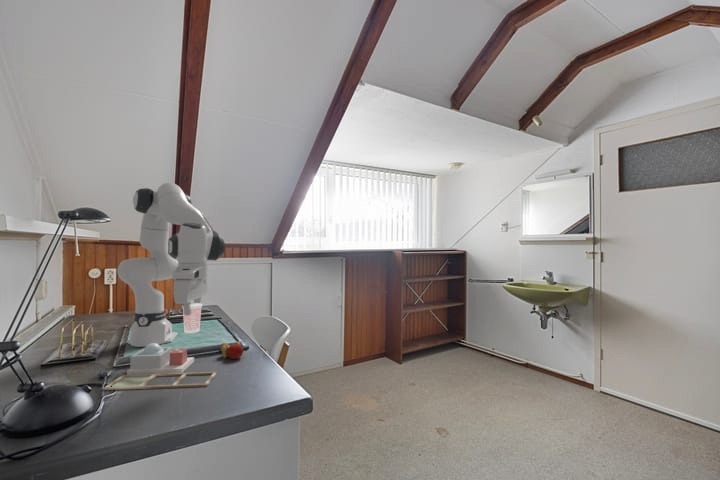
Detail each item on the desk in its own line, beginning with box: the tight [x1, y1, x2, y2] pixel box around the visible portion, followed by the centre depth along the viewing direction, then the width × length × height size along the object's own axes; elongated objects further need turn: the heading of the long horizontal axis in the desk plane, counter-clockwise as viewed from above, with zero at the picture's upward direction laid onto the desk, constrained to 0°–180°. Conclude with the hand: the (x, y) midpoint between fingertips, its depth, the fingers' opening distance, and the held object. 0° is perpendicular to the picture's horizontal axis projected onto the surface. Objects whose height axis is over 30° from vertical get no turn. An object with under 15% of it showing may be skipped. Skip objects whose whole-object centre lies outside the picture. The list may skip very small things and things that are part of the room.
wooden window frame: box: [103, 371, 218, 391], centre depth 113 cm, size 11×31×1 cm, turn 97°
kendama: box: [220, 341, 244, 360], centre depth 140 cm, size 8×6×18 cm
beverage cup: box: [181, 300, 203, 334], centre depth 114 cm, size 6×6×14 cm
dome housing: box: [126, 346, 195, 375], centre depth 125 cm, size 12×18×6 cm, turn 97°
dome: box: [141, 343, 164, 355], centre depth 125 cm, size 7×7×7 cm
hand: (192, 312), depth 114 cm, fingers closed on beverage cup, 6 cm apart
